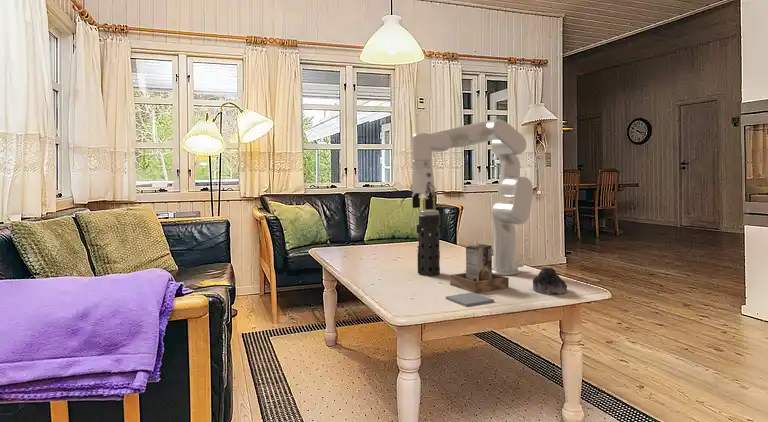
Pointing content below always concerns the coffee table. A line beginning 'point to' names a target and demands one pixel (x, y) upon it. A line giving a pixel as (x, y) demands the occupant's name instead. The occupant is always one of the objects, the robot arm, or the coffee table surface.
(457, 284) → the corral
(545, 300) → the coffee table surface
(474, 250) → the coffee box
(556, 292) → the crystal cluster
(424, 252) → the muzzle brake
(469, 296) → the mat
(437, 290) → the coffee table surface
